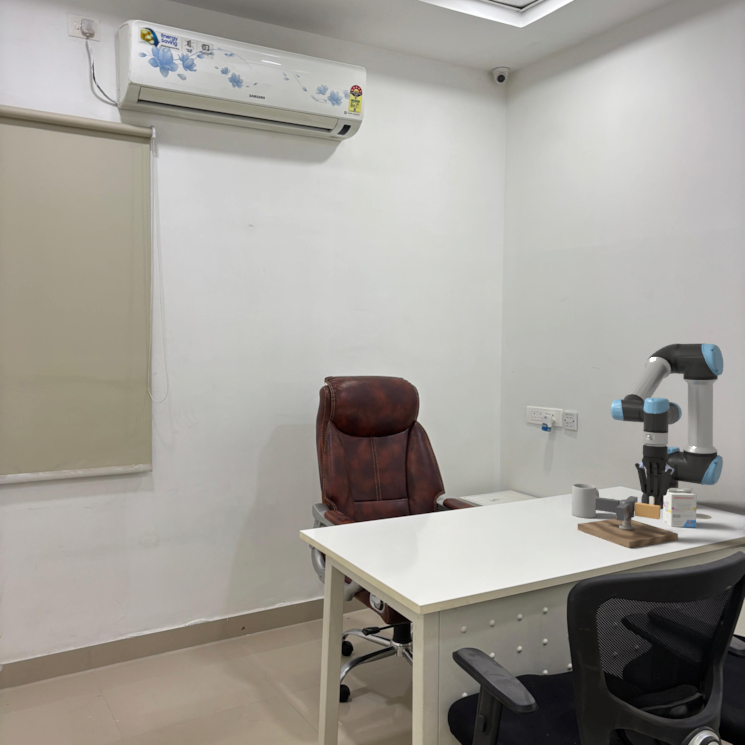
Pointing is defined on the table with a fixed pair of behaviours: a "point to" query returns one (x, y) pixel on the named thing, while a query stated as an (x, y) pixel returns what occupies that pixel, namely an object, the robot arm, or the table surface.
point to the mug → (584, 500)
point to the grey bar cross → (627, 508)
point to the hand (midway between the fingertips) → (653, 515)
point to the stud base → (627, 532)
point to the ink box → (680, 507)
